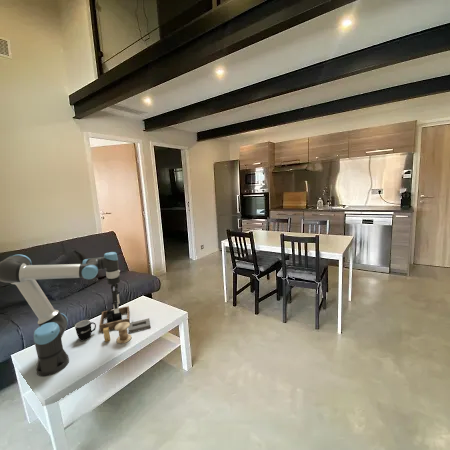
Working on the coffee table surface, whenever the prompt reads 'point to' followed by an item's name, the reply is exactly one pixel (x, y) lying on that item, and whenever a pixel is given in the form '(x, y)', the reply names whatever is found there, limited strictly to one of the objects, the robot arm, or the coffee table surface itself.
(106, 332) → the block
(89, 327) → the mug
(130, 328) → the board
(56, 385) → the coffee table surface
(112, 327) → the caddy
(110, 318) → the film camera
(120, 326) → the wooden spool
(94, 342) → the coffee table surface
